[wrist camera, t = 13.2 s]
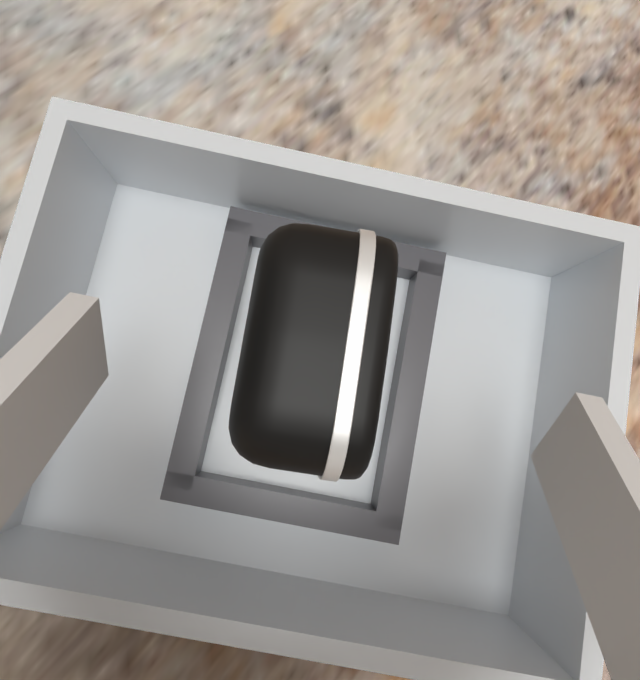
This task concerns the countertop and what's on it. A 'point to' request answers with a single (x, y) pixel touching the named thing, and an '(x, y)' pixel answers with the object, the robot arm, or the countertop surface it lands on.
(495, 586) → the bin
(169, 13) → the countertop surface
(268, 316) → the battery charger
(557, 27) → the countertop surface
